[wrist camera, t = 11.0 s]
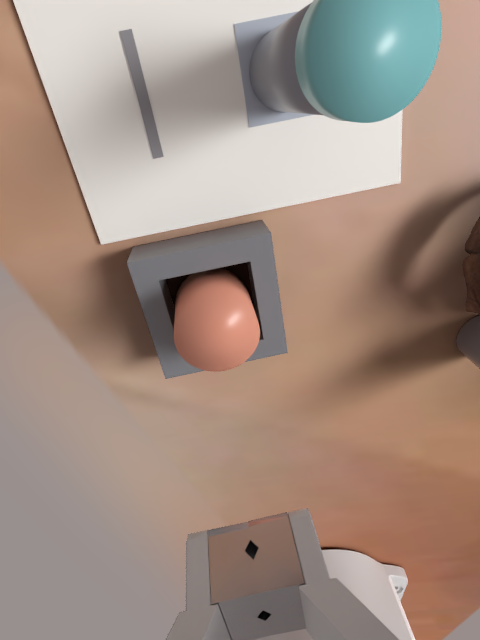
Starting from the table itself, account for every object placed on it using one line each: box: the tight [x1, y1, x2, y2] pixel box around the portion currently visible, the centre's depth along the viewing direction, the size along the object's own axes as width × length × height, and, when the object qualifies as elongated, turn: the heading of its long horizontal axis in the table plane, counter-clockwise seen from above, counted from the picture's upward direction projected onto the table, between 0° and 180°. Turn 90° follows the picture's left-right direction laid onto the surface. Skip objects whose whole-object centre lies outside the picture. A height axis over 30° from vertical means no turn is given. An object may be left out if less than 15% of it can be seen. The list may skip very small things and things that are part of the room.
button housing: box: [127, 220, 288, 379], centre depth 21 cm, size 7×7×2 cm
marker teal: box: [249, 0, 442, 123], centre depth 14 cm, size 3×3×9 cm
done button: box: [174, 268, 260, 372], centre depth 20 cm, size 4×4×4 cm
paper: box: [13, 0, 402, 245], centre depth 18 cm, size 12×16×1 cm
